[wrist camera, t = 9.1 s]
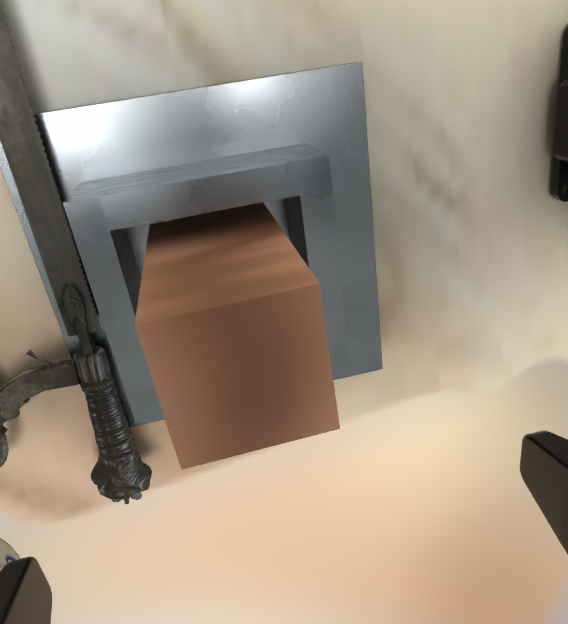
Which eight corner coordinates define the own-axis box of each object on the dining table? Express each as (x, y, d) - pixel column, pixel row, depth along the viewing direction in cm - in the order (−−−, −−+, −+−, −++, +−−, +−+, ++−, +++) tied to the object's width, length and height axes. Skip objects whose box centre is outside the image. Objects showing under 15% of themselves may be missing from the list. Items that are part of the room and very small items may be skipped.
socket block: (354, 62, 18) (397, 60, 14) (375, 359, 23) (410, 409, 20) (-9, 120, 16) (-56, 133, 13) (102, 422, 22) (89, 486, 18)
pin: (262, 201, 18) (319, 283, 11) (280, 302, 20) (340, 428, 13) (149, 224, 18) (134, 324, 11) (178, 325, 20) (181, 469, 13)
